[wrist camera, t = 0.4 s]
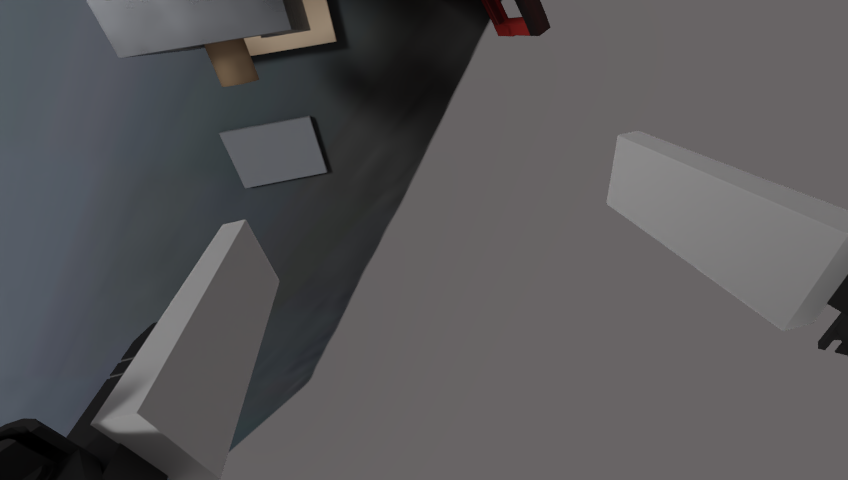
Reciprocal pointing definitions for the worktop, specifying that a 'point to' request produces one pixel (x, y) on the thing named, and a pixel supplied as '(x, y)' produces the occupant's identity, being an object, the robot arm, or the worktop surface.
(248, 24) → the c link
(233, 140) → the pad
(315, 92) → the worktop surface
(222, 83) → the stand
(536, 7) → the mug
